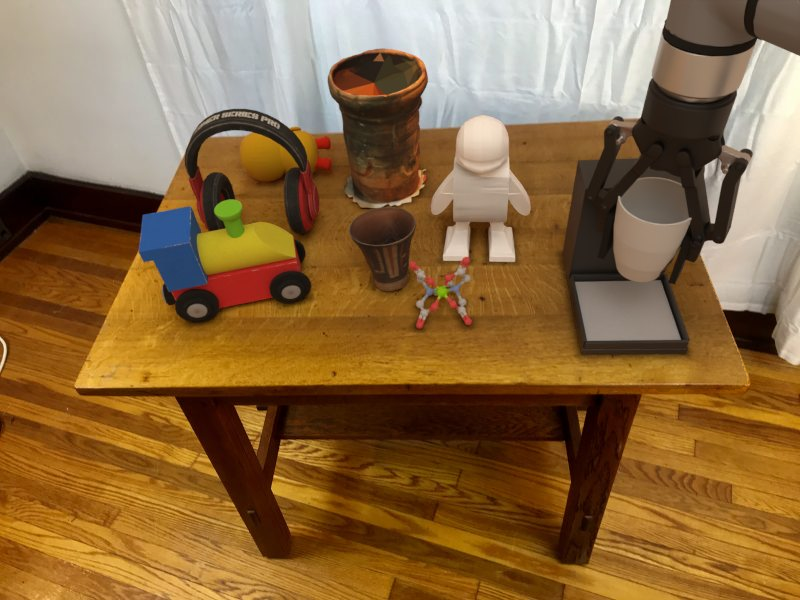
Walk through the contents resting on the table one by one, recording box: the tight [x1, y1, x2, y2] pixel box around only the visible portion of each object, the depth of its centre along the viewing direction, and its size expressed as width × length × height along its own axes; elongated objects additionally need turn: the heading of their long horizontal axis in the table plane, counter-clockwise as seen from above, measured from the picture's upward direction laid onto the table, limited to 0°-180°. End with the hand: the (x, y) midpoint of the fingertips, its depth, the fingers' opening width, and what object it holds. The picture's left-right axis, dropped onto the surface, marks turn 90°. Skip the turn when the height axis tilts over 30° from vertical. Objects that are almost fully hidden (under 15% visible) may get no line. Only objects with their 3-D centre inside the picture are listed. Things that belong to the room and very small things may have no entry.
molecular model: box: [408, 256, 473, 330], centre depth 80 cm, size 7×8×8 cm
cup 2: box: [613, 177, 692, 282], centre depth 70 cm, size 8×8×10 cm
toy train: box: [138, 199, 312, 323], centre depth 82 cm, size 9×20×15 cm, turn 102°
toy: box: [239, 126, 333, 183], centre depth 103 cm, size 9×9×15 cm
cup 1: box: [348, 206, 417, 292], centre depth 84 cm, size 9×9×10 cm
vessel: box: [327, 48, 429, 209], centre depth 95 cm, size 14×14×20 cm
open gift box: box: [561, 157, 691, 356], centre depth 76 cm, size 18×12×16 cm
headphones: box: [184, 108, 320, 235], centre depth 89 cm, size 18×10×20 cm, turn 90°
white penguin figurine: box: [430, 114, 532, 263], centre depth 84 cm, size 14×9×20 cm, turn 84°
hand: (639, 263), depth 73 cm, fingers closed on cup 2, 8 cm apart
